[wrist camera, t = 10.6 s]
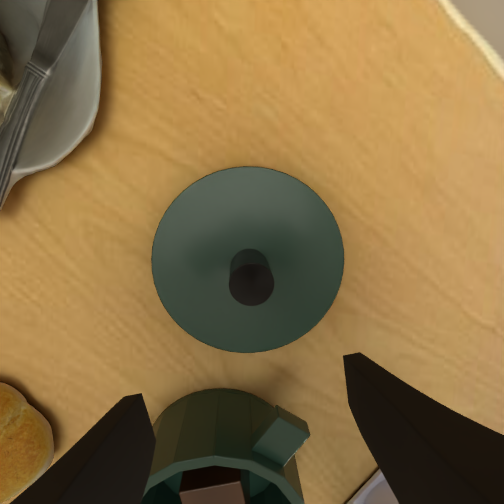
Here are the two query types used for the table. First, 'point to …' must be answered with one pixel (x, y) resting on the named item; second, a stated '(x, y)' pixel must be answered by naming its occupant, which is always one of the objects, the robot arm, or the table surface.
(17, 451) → the bread roll
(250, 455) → the pot
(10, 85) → the salad plate
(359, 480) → the table surface
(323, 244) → the lid
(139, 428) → the robot arm
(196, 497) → the block
